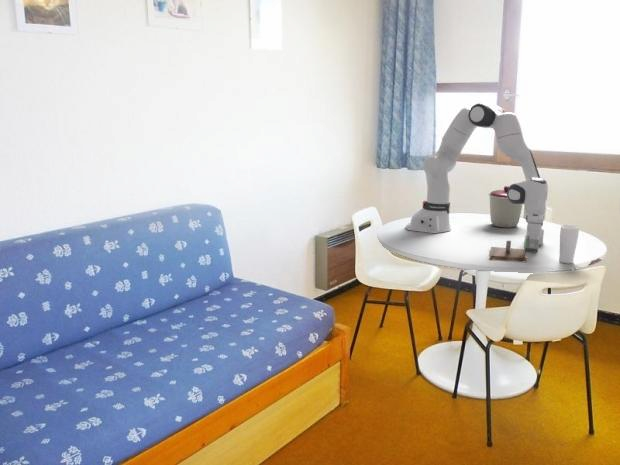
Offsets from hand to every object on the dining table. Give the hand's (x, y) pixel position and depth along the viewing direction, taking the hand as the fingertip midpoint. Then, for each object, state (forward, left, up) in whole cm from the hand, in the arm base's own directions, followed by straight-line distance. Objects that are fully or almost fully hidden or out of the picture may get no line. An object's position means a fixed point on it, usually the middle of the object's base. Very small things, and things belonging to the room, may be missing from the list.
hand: (531, 245), depth 249 cm
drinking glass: (+13, -14, -2) cm, 19 cm away
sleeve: (0, 0, -2) cm, 2 cm away
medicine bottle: (+2, +14, -2) cm, 14 cm away
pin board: (-10, -12, -2) cm, 16 cm away
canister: (-11, +44, -2) cm, 45 cm away
